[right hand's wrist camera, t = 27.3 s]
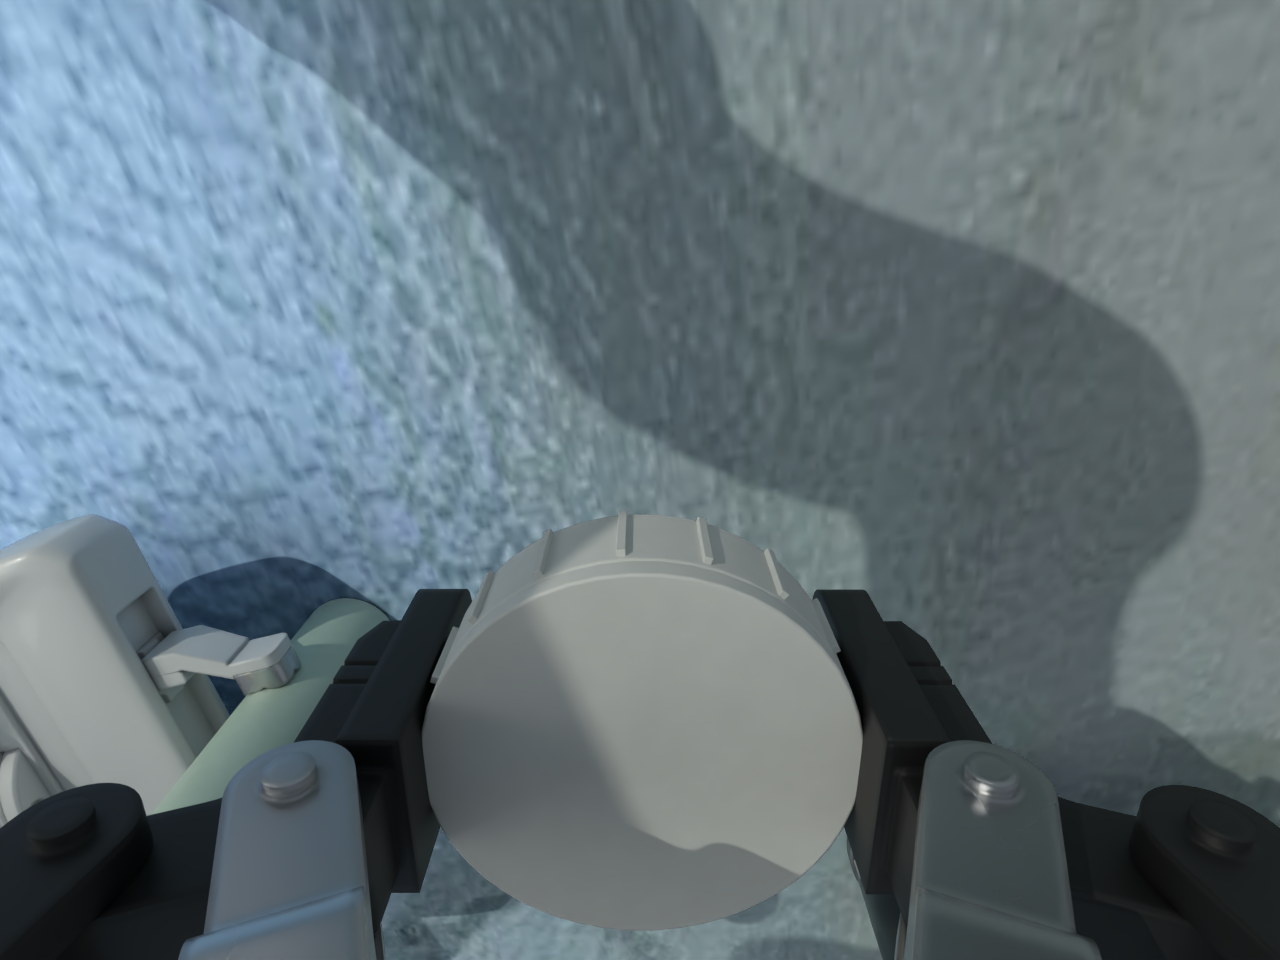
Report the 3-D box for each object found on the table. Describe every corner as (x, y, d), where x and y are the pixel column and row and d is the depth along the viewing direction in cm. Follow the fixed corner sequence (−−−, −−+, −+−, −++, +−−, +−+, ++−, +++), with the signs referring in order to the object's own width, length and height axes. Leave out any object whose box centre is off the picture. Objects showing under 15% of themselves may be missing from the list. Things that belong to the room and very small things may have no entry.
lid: (818, 474, 10) (851, 530, 8) (853, 809, 12) (887, 906, 10) (399, 544, 10) (355, 611, 8) (502, 858, 12) (481, 959, 10)
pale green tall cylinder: (297, 658, 37) (-29, 1089, 20) (319, 584, 36) (-13, 978, 18) (383, 687, 38) (143, 1133, 20) (408, 616, 37) (173, 1028, 19)
